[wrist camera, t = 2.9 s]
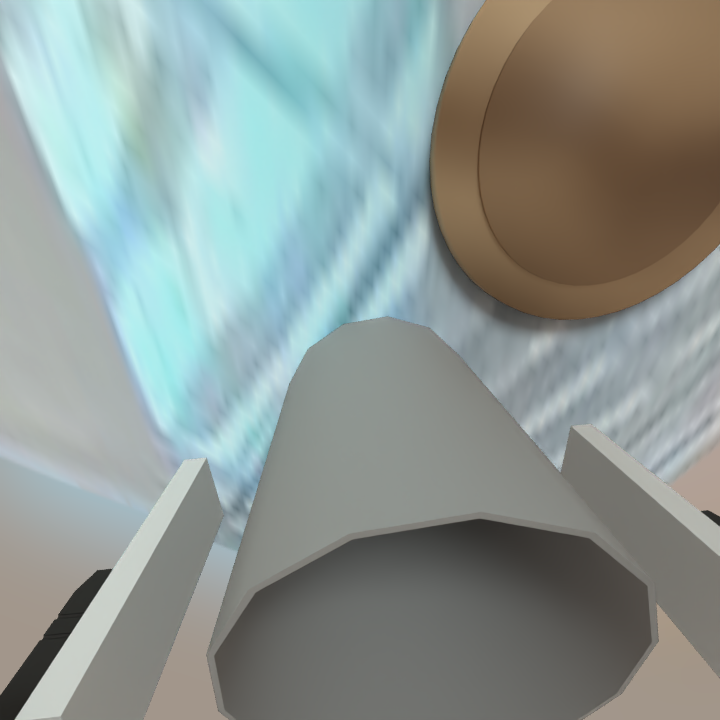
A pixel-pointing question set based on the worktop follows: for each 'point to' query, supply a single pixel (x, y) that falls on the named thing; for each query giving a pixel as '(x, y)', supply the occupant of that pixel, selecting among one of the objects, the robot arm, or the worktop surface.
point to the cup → (420, 555)
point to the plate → (580, 151)
